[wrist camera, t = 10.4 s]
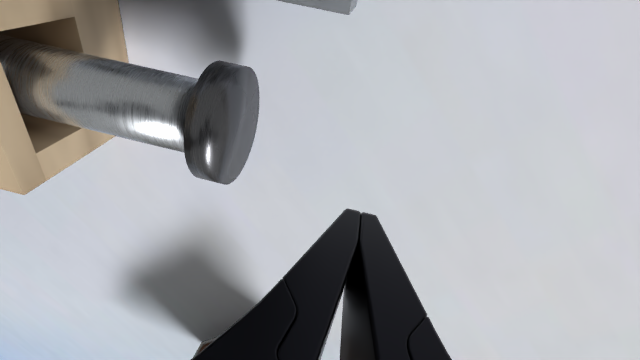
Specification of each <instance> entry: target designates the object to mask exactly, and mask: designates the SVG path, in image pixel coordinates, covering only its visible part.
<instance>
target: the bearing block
mask: <svg viewBox="0 0 640 360" xmlns="http://www.w3.org/2000/svg"><path fill="white" fill-rule="evenodd" d="M0 34H1V35H5V36H10V37H14V38H18V39H23V40H27V41H32V42H36V43H41V44H45V45H50V46H54V47H59V48H63V49H67V50H72V51H76V52H81V53H85V54H90V55H94V56H99V57H103V58H108V59H112V60H116V61H121V62H125V63H129V62H128V57H127V51H126V45H125V39H124V33H123V27H122V21H121V16H120V10H119V4H118V0H0ZM113 137H115V136H114V135H109V134H105V133H101V132H97V131H93V130H89V129H84V128H80V127H76V126H72V125H68V124H64V123H59V122H55V121H51V120H47V119H43V118H39V117H35V116H30V115H26V114H22V113H20V111H19V109H18V106H17V103H16V101H15V98H14V96H13V93H12V90H11V88H10V85H9V83H8V80H7V78H6V75H5V72H4V70H3V67H2V65H1V62H0V189H3V190H7V191H10V192H14V193H18V194H22V195H25V194H27V193H28V192H30V191H31V190H33V189H35V188H36V187H38V186H39V185H41V184H42V183H44V182H45V181H47V180H48V179H50V178H52V177H53V176H55V175H56V174H58V173H59V172H61V171H62V170H64V169H65V168H67V167H69V166H70V165H72V164H73V163H75V162H76V161H78V160H79V159H81V158H82V157H84V156H86V155H87V154H89V153H90V152H92V151H93V150H95V149H96V148H98V147H99V146H101V145H103V144H104V143H106V142H107V141H109V140H110V139H112V138H113Z"/></svg>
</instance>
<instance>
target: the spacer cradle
mask: <svg viewBox="0 0 640 360" xmlns="http://www.w3.org/2000/svg"><path fill="white" fill-rule="evenodd" d="M278 1H283V2H287V3H292V4H297V5H302V6H307V7H312V8H317V9H322V10H327V11H331V12H336V13H341V14H346V15H349V14H350V13H351V12H352V10H353V9H354V8H355V7H356V4H357V0H278Z"/></svg>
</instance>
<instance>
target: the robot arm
mask: <svg viewBox="0 0 640 360" xmlns="http://www.w3.org/2000/svg"><path fill="white" fill-rule="evenodd" d="M344 286H345V287H344ZM343 289H344V296H343V312H342V329H341V346H340V360H452V359H451V358H450V356H449V354H448V353H447V351H446V349H445V347H444V345H443V344H442V342H441V340H440V338H439V336H438V334H437V333H436V331H435V329H434V327H433V325H432V323H431V321H430V319H429V317H427V313H426V311H425V310H424V308H423V306H422V304H421V302H420V300H419V298H418V296H417V294H416V292H415V290H414V288H413V286H412V284H411V282H410V280H409V278H408V276H407V274H406V273H405V271H404V269H403V267H402V265H401V263H400V261H399V259H398V257H397V255H396V253H395V251H394V249H393V247H392V245H391V243H390V241H389V239H388V237H387V235H386V234H385V232H384V230H383V228H382V226H381V224H380V222H379V220H378V218H377V216H376V215H373V214H368V213H364V212H363V213H360V212H359V211H356V210H352V209H346V210H344V211H343V213H342V214H341V215H340V216H339V217H338V218H337V219H336V220H335V221H334V222H333V223H332V225H331V226H330V227H329V228H328V229H327V230H326V231H325V232H324V233H323V234H322V235H321V237H320V238H319V239H318V240H317V241H316V242H315V243H314V244H313V245H312V246H311V247H310V249H309V250H308V251H307V252H306V253H305V254H304V255H303V256H302V257H301V258H300V259H299V260H298V262H297V263H296V264H295V265H294V266H293V267H292V268H291V269H290V270H289V271H288V272H287V274H286V275H285V276H284V277H283V279H281V280H280V281H279V282H278V283H277V284H276V285H275V286H274V287H273V289H272V290H271V291H270V292H269V293H268V294H267V295H266V296H265V297H264V298H263V299H262V300H261V301H260V302H259V303H258V304H257V305H255V306H254V307H253V308H252V309H251V310H250V311H249V312H247V313H246V314H245V315H244V316H243V317H242V318H241V319H239V320H238V321H237V322H236V323H235V324H233V325H232V326H231V327H230V328H229V329H227V330H226V331H225V332H224V333H223V334H221V335H220V336H219V337H218V338H217V339H215V340H214V341H213V342H212V343H210V344H209V345H208V346H207V347H206V348H204V349H203V350H202V351H201V352H200V353H198V354H197V355H196V356H195V357H193V358H192V359H191V360H320V359H321V356H322V353H323V350H324V347H325V344H326V341H327V338H328V335H329V332H330V329H331V326H332V323H333V320H334V317H335V314H336V311H337V308H338V305H339V302H340V299H341V296H342V293H343Z"/></svg>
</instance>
